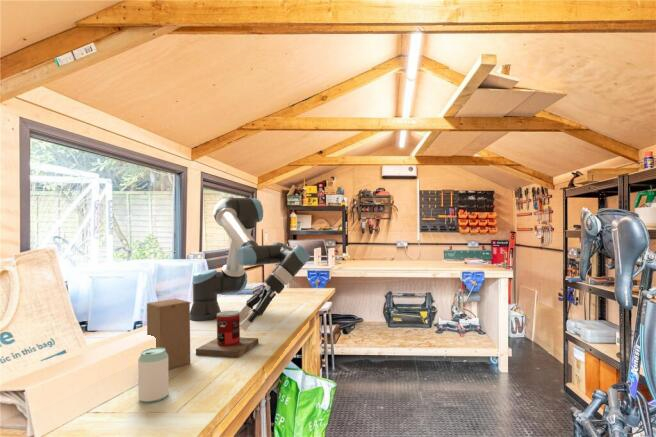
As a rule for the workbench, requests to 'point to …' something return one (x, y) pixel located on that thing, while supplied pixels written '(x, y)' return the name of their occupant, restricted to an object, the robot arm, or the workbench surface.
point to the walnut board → (227, 348)
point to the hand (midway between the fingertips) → (239, 324)
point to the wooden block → (171, 329)
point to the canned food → (228, 328)
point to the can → (153, 375)
